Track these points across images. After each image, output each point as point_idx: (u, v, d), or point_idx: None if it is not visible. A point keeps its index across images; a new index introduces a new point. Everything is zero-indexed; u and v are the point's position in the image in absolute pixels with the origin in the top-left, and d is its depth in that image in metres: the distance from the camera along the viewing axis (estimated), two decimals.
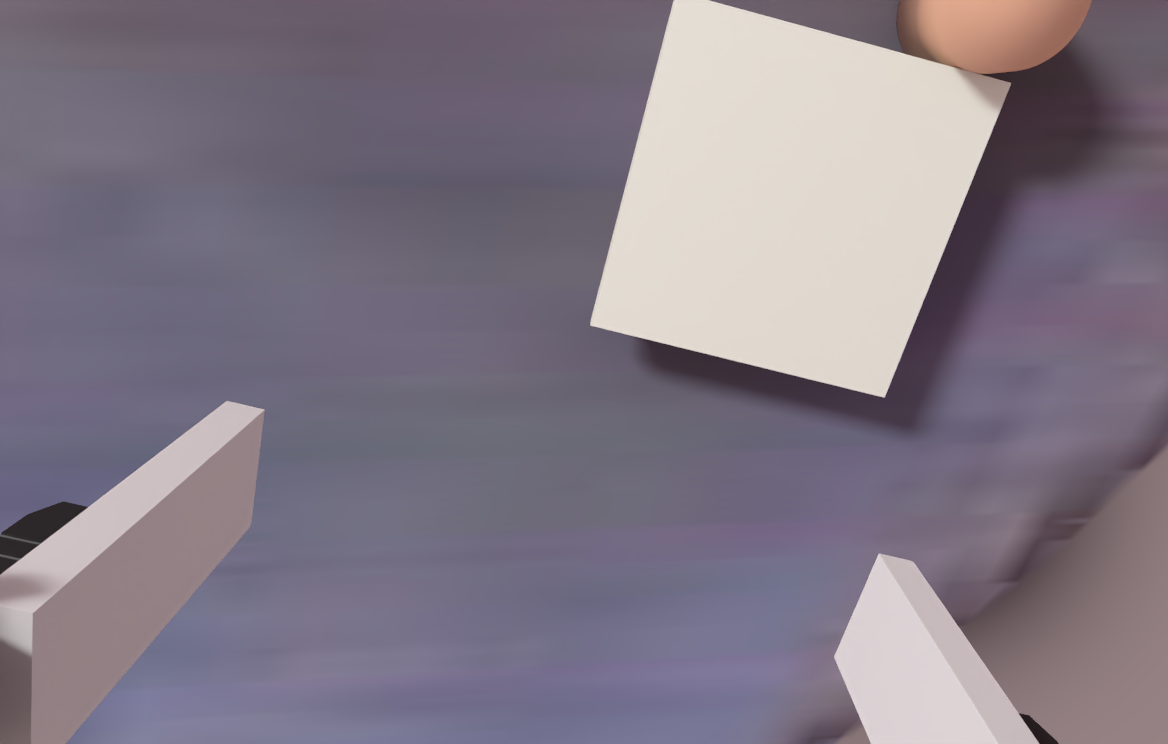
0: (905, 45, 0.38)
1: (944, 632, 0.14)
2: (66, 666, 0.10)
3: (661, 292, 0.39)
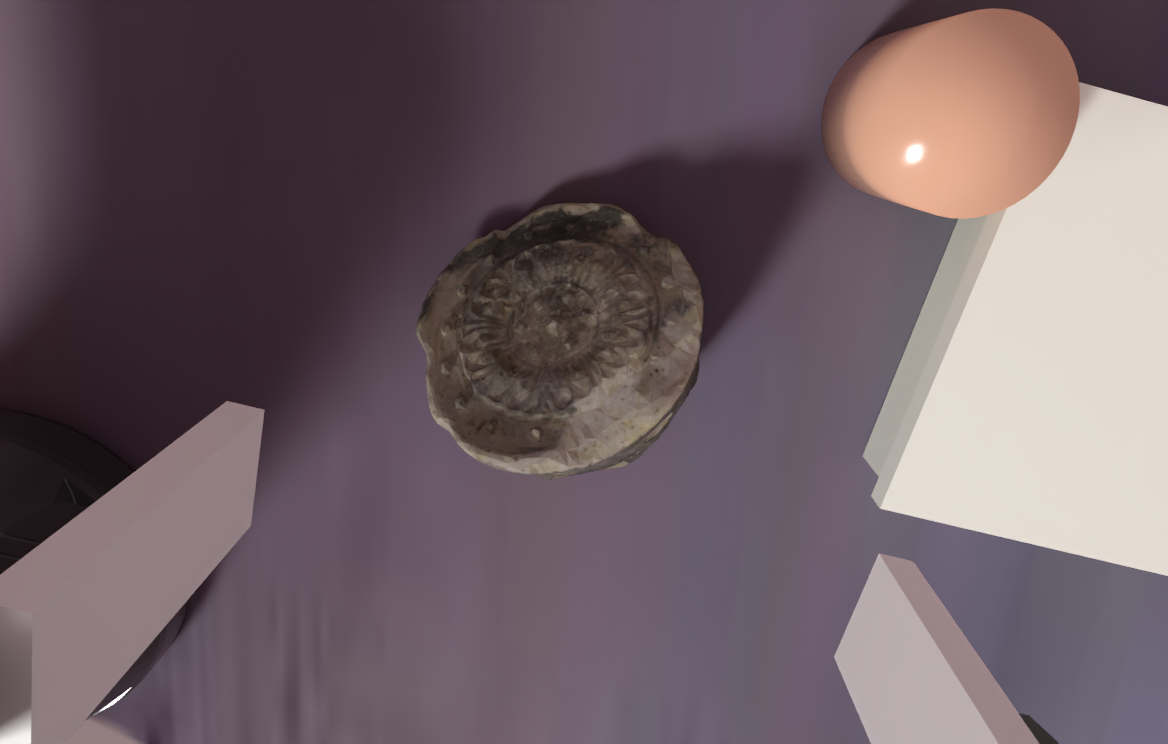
0: None
1: (944, 632, 0.14)
2: (66, 666, 0.10)
3: None
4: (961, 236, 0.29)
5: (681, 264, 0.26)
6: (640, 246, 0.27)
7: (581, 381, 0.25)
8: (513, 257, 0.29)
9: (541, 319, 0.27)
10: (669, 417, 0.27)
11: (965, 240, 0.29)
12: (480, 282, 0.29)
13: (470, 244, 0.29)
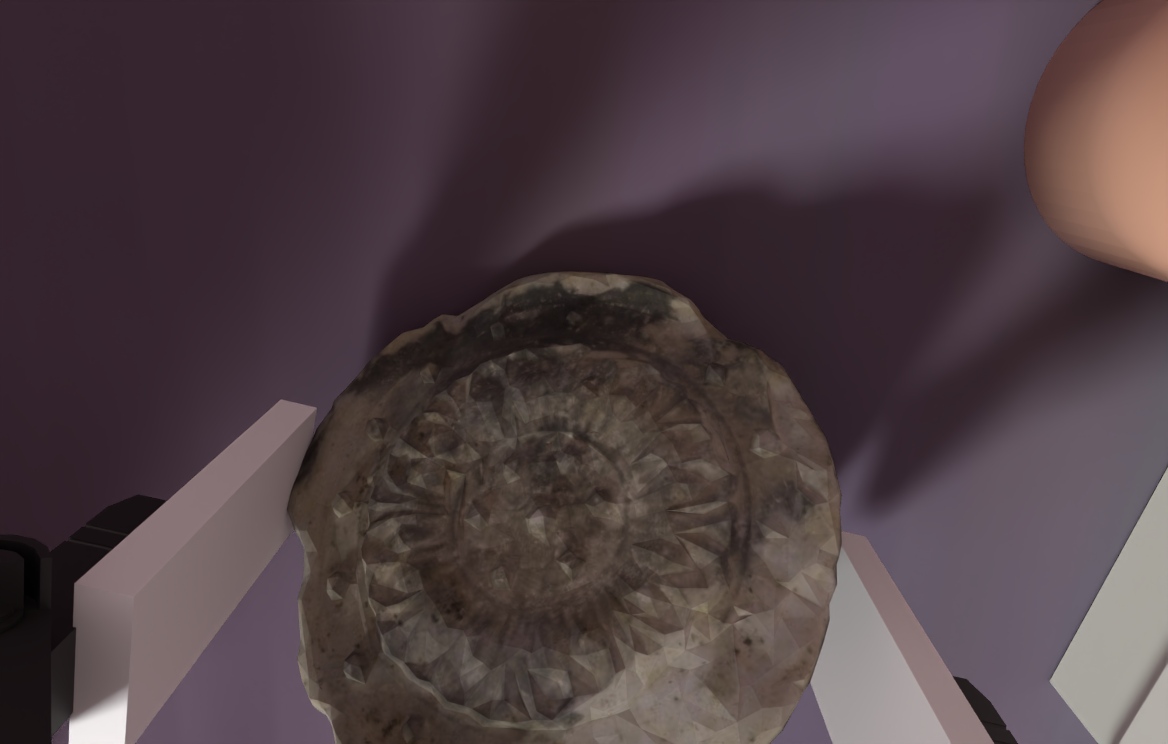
0: None
1: (888, 600, 0.14)
2: (156, 648, 0.11)
3: None
4: None
5: (790, 406, 0.13)
6: (708, 364, 0.14)
7: (592, 657, 0.12)
8: (469, 371, 0.16)
9: (515, 503, 0.14)
10: None
11: None
12: (409, 416, 0.16)
13: (395, 342, 0.16)
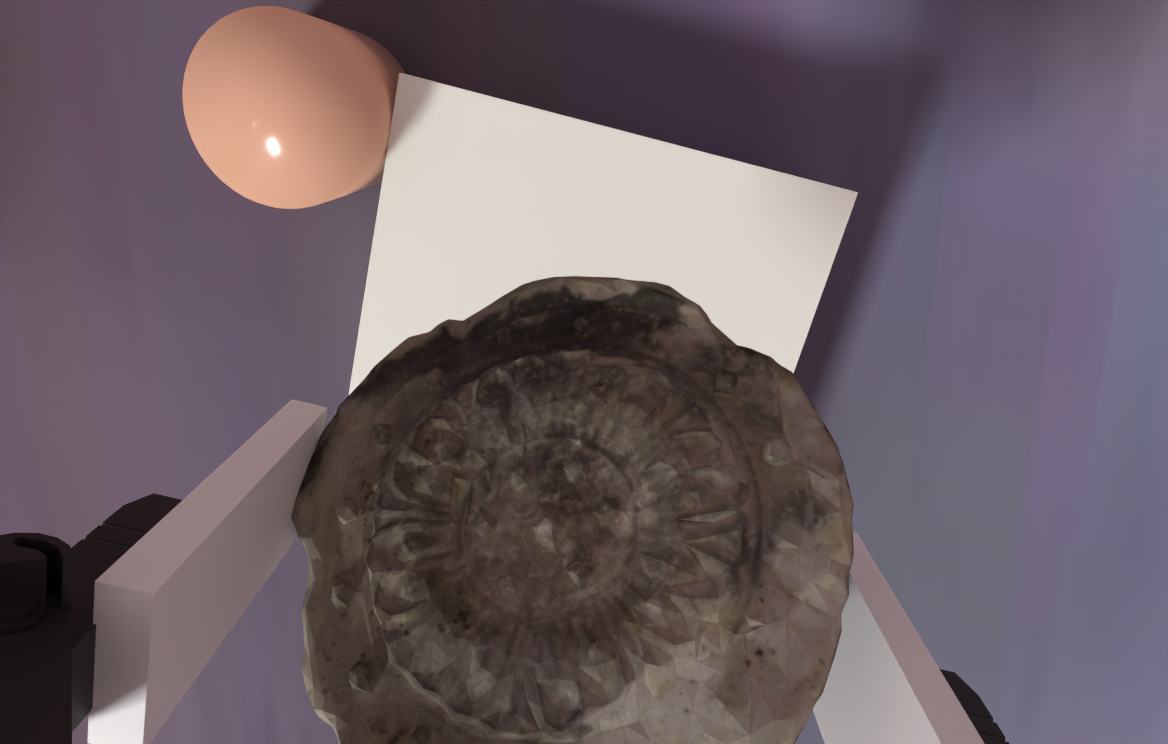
0: (381, 181, 0.30)
1: (877, 595, 0.14)
2: (173, 645, 0.11)
3: None
4: None
5: (800, 414, 0.13)
6: (717, 371, 0.14)
7: (601, 668, 0.12)
8: (475, 376, 0.15)
9: (523, 511, 0.14)
10: None
11: None
12: (414, 421, 0.15)
13: (400, 347, 0.16)
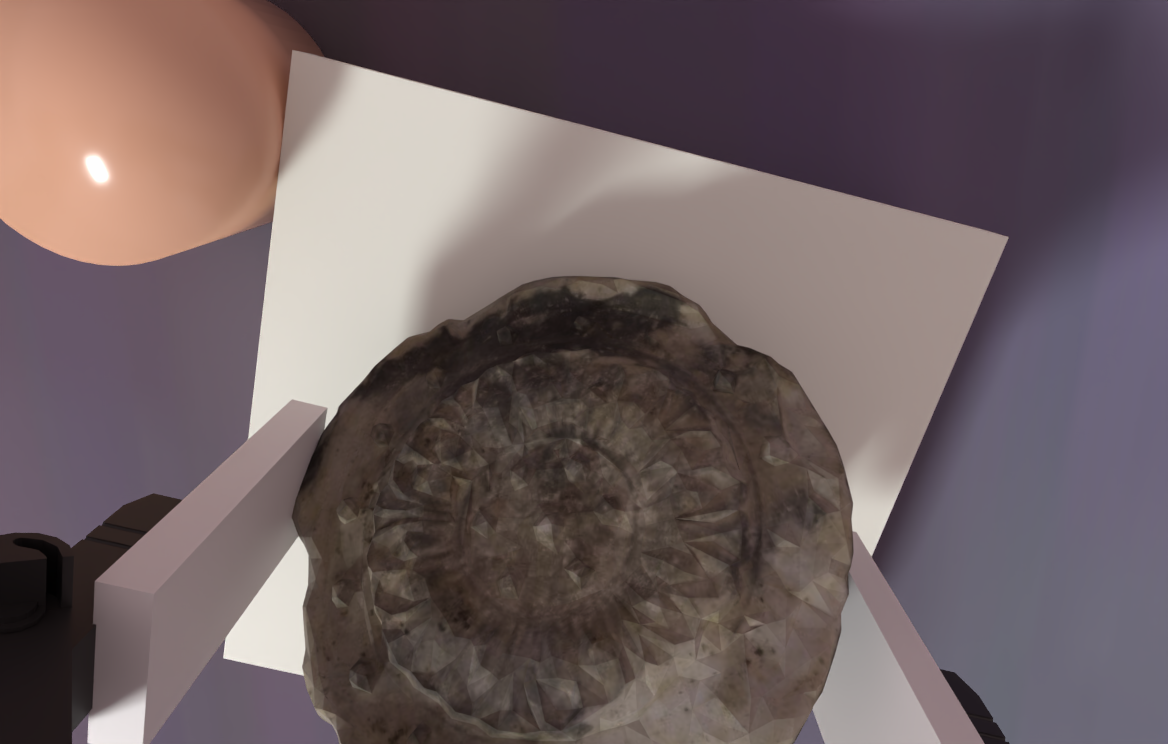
0: None
1: (877, 595, 0.14)
2: (173, 645, 0.11)
3: None
4: None
5: (800, 413, 0.13)
6: (717, 371, 0.14)
7: (602, 667, 0.12)
8: (476, 376, 0.15)
9: (523, 510, 0.14)
10: None
11: None
12: (414, 421, 0.15)
13: (400, 346, 0.16)
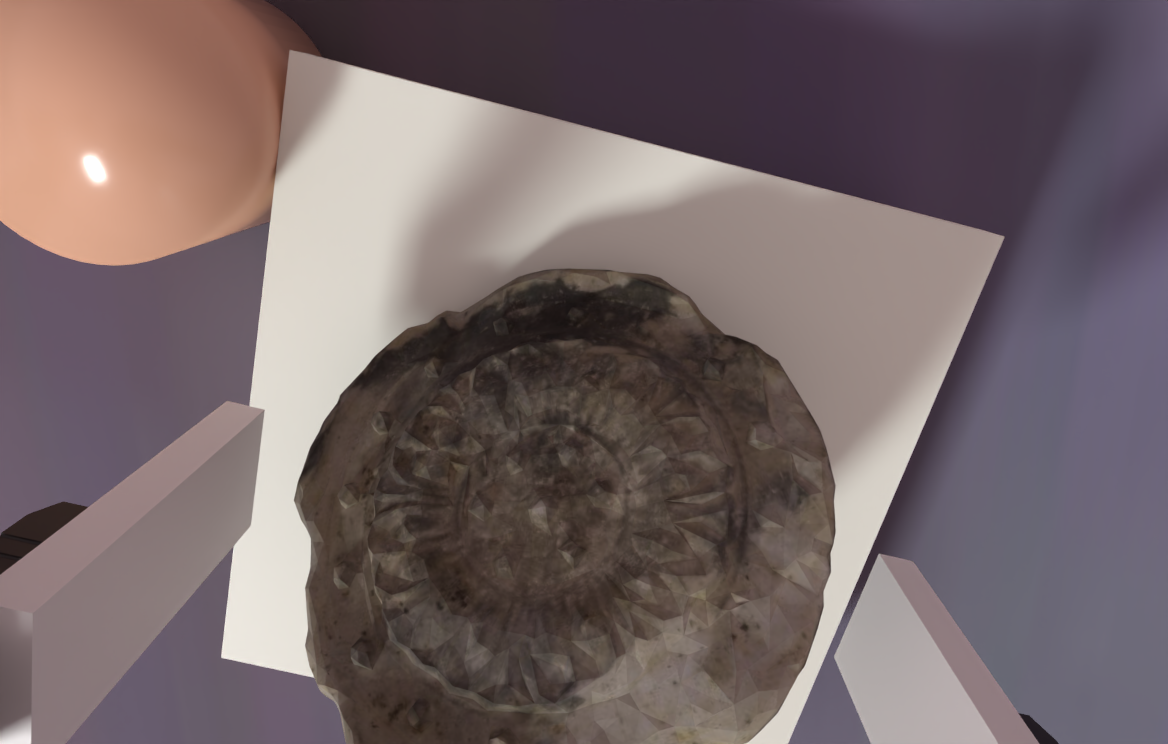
0: None
1: (944, 632, 0.14)
2: (66, 666, 0.10)
3: None
4: None
5: (786, 399, 0.14)
6: (706, 359, 0.15)
7: (592, 642, 0.13)
8: (473, 366, 0.16)
9: (519, 494, 0.14)
10: None
11: None
12: (413, 409, 0.16)
13: (399, 337, 0.17)
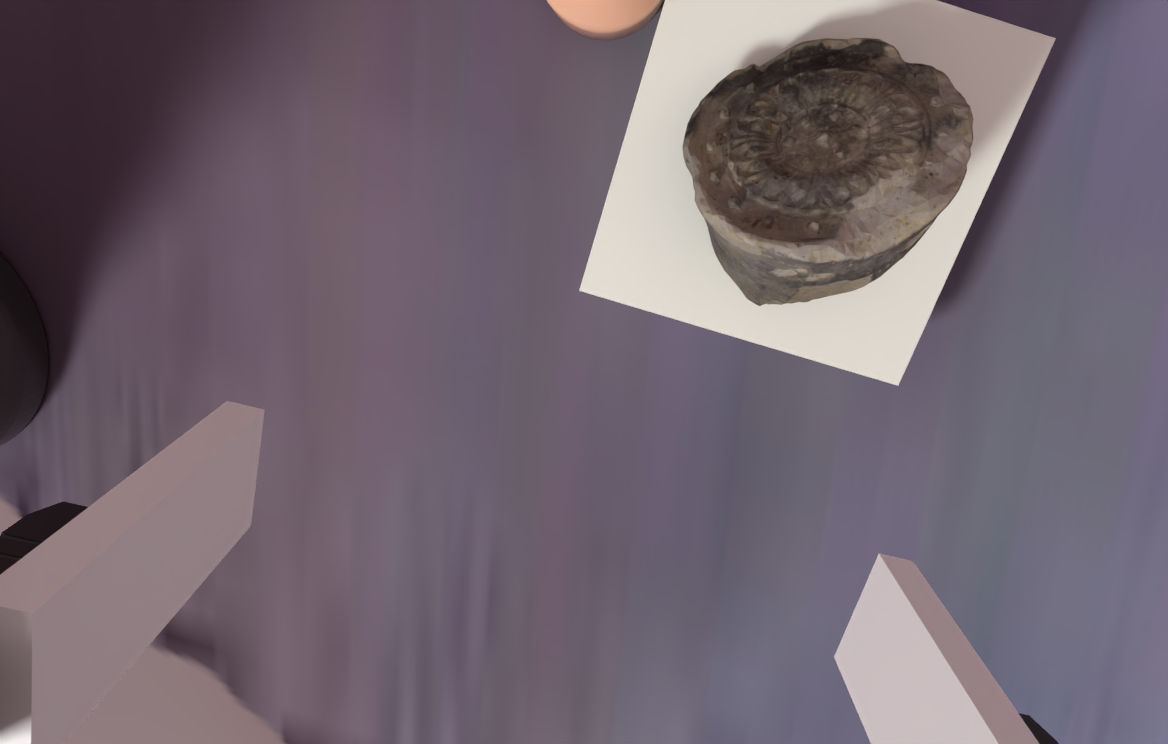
0: (635, 30, 0.36)
1: (944, 632, 0.14)
2: (66, 666, 0.10)
3: (873, 310, 0.36)
4: None
5: (947, 87, 0.29)
6: (905, 73, 0.29)
7: (859, 181, 0.28)
8: (775, 84, 0.31)
9: (809, 134, 0.29)
10: (925, 230, 0.29)
11: None
12: (743, 106, 0.31)
13: (731, 74, 0.32)
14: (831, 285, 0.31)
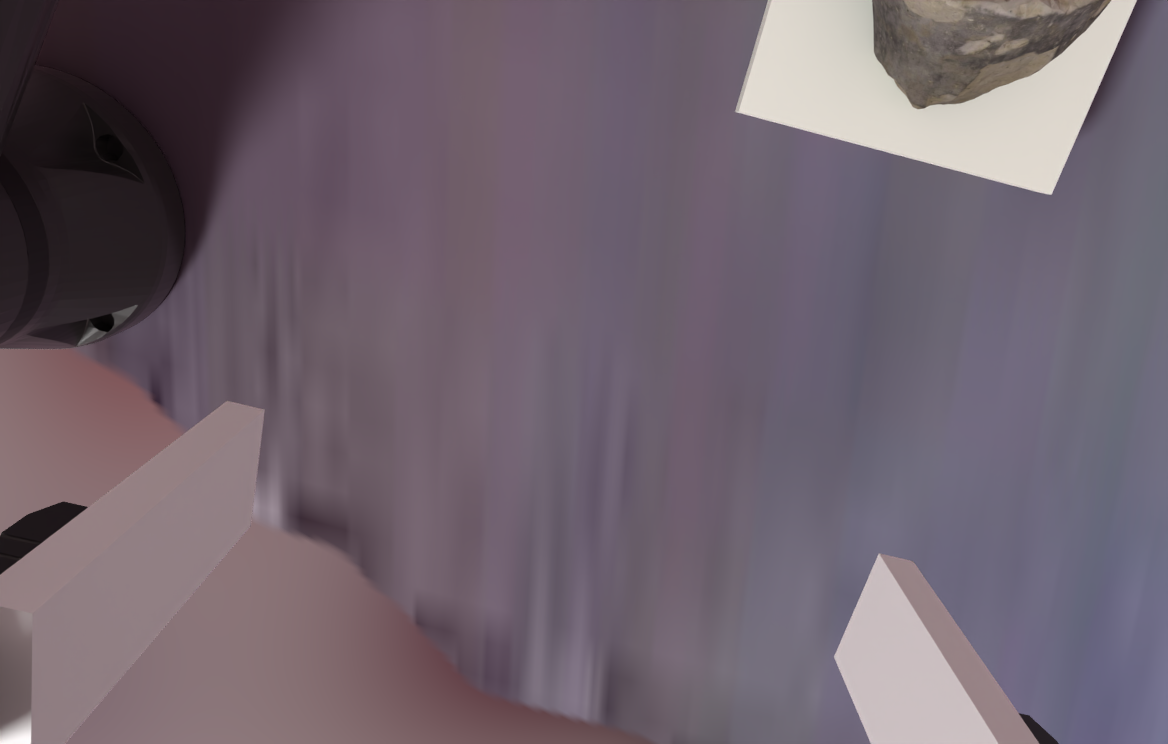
0: None
1: (944, 632, 0.14)
2: (66, 666, 0.10)
3: (1029, 117, 0.36)
4: None
5: None
6: None
7: None
8: None
9: None
10: None
11: None
12: None
13: None
14: (1011, 66, 0.32)
